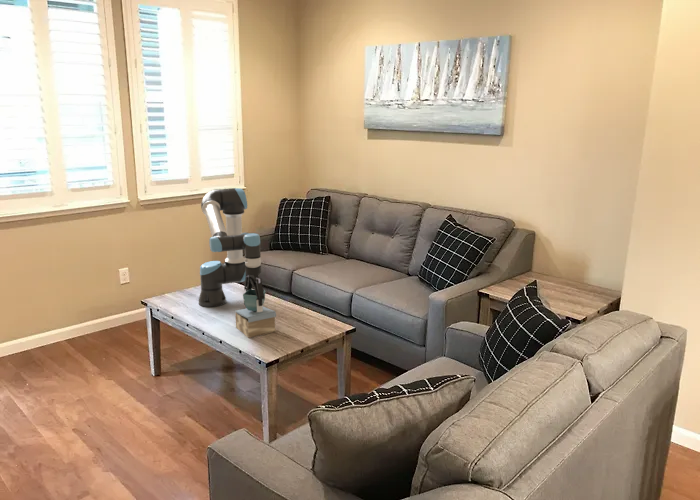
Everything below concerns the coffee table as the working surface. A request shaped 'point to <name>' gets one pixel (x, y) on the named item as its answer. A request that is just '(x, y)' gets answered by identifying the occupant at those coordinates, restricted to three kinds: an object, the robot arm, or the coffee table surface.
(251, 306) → the flower pot
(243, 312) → the lid
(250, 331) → the crate
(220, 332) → the coffee table surface
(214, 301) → the robot arm
